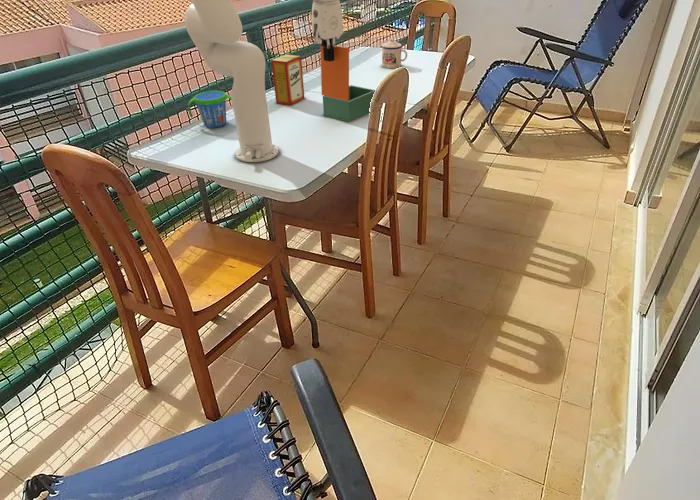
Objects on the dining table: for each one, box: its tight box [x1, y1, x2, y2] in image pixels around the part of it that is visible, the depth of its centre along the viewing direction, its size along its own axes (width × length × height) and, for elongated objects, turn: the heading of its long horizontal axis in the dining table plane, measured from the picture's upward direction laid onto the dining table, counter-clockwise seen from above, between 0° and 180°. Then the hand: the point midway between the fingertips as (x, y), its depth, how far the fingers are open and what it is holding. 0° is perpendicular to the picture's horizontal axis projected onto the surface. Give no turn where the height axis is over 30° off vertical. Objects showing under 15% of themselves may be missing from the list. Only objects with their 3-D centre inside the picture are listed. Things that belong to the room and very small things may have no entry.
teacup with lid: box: [381, 37, 408, 69], centre depth 222 cm, size 12×9×12 cm
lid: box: [319, 44, 350, 101], centre depth 162 cm, size 16×12×1 cm
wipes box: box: [322, 84, 376, 123], centre depth 174 cm, size 16×12×7 cm
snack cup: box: [187, 90, 232, 129], centre depth 167 cm, size 16×10×10 cm
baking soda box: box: [270, 54, 305, 106], centre depth 184 cm, size 10×6×16 cm
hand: (329, 60), depth 158 cm, fingers closed
